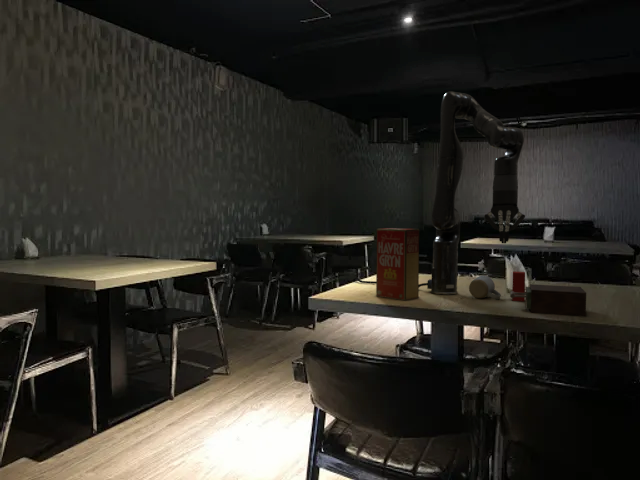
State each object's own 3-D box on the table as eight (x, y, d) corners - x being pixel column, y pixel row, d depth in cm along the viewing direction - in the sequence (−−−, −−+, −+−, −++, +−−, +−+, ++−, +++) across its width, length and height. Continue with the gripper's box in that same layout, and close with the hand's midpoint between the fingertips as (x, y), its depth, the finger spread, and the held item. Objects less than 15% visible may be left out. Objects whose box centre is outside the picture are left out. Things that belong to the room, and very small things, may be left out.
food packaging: (374, 296, 180) (375, 228, 179) (389, 293, 187) (390, 227, 186) (405, 301, 171) (406, 229, 170) (419, 297, 178) (420, 228, 176)
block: (512, 300, 172) (512, 272, 172) (512, 299, 176) (512, 271, 176) (524, 301, 171) (525, 273, 170) (524, 299, 175) (524, 271, 174)
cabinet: (530, 312, 153) (531, 289, 152) (529, 305, 164) (529, 284, 164) (585, 316, 147) (586, 292, 147) (579, 308, 159) (580, 286, 158)
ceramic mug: (467, 297, 178) (468, 276, 177) (473, 294, 184) (474, 274, 184) (497, 301, 172) (498, 279, 171) (503, 298, 179) (504, 277, 178)
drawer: (509, 307, 155) (510, 291, 155) (509, 301, 166) (510, 286, 166) (576, 312, 148) (577, 294, 148) (572, 305, 159) (572, 289, 159)
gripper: (527, 190, 160) (525, 243, 160) (484, 190, 164) (482, 242, 165) (527, 188, 153) (526, 244, 153) (483, 189, 157) (481, 243, 158)
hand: (503, 243), depth 159 cm, fingers closed
